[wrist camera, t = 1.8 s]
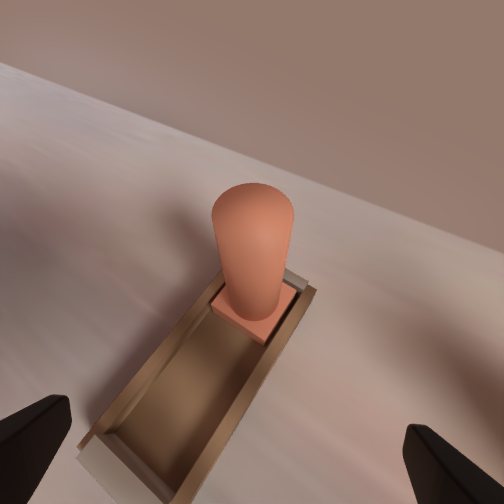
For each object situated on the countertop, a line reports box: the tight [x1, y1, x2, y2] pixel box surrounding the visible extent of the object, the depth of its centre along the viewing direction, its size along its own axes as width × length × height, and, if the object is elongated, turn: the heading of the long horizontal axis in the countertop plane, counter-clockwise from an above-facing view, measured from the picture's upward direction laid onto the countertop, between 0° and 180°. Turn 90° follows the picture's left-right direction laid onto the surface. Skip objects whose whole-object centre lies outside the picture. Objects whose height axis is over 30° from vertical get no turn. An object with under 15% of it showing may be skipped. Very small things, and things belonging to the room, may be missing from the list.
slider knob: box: [211, 183, 297, 347], centre depth 17 cm, size 4×5×11 cm
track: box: [76, 268, 317, 504], centre depth 19 cm, size 16×7×4 cm, turn 146°
